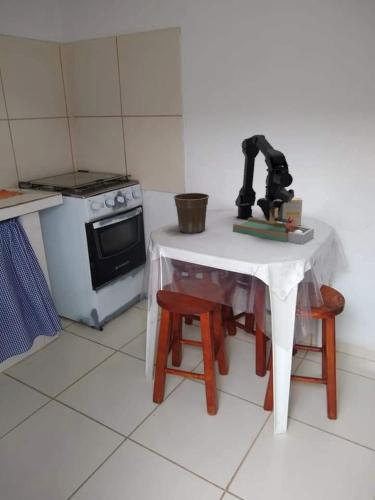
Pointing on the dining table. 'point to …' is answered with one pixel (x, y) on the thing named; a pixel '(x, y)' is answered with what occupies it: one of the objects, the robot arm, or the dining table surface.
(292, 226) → the foosball rod
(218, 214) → the dining table surface
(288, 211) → the supplement box
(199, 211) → the plant pot
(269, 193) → the robot arm
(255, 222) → the pitch
